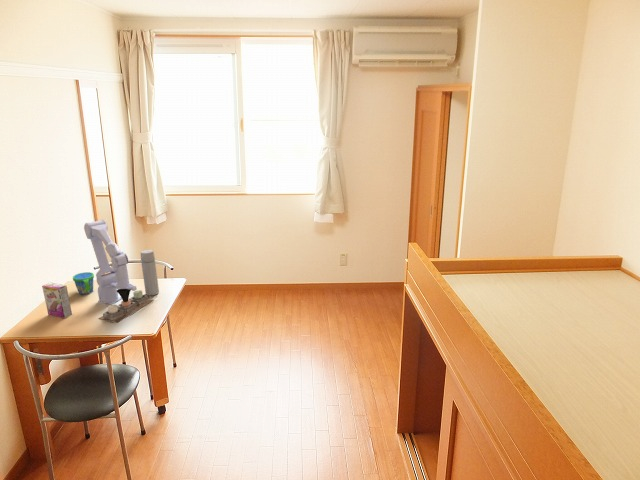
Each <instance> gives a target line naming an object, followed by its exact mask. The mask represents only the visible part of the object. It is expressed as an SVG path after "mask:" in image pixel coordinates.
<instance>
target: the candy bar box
mask: <svg viewBox="0 0 640 480" xmlns="http://www.w3.org/2000/svg"><path fill="white" fill-rule="evenodd" d="M42 291H43V292H42V293H43V296H44V300H45V305H46V310H47V314H48V316H53V317H56V318H57V317H58V318H62V319H65V318H68V317H70V316H71V315H73V312H72V308H71V301H70V297H69V292H68V287H67V285H66V284H60V283H54V282H48V283H46V284H43V285H42Z"/></svg>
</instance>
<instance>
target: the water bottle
mask: <svg viewBox="0 0 640 480" xmlns="http://www.w3.org/2000/svg"><path fill="white" fill-rule="evenodd" d="M139 262H141V269H142V276H143V277H142V278H143V284H144V292H145V294H146V295H147V296H155V295H158V294H159V292H160V287H159V281H158V273H157V266H156V265H157V264H156V257H155V251H154V250H153V249H144V250H141V251H140V260H139Z"/></svg>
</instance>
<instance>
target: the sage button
mask: <svg viewBox="0 0 640 480" xmlns="http://www.w3.org/2000/svg"><path fill="white" fill-rule="evenodd" d="M132 292H133V296H134V299H136V300H140V299H142V298H143V295H144V294H143V290H135V291H132Z"/></svg>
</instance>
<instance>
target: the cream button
mask: <svg viewBox="0 0 640 480" xmlns="http://www.w3.org/2000/svg"><path fill="white" fill-rule="evenodd" d="M117 305H118V304H116V303H113V304H109V305H108V306H107V311H108V313H109V314H111V315H114V314H116V313H118V307H117Z"/></svg>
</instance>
